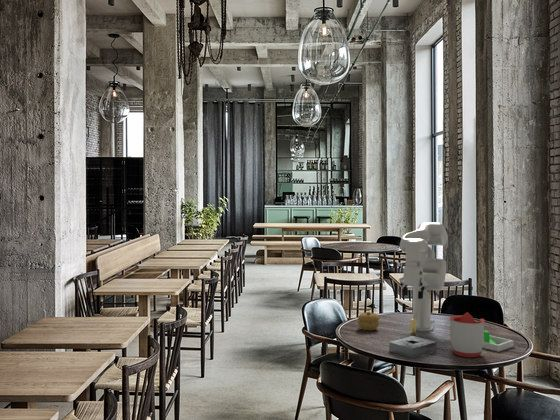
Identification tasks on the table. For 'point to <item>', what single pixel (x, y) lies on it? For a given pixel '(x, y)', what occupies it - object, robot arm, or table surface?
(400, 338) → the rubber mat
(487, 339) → the mechanical part
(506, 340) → the frame
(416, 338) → the base block
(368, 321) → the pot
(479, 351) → the citrus juicer
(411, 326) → the brass pin
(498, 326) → the table surface
